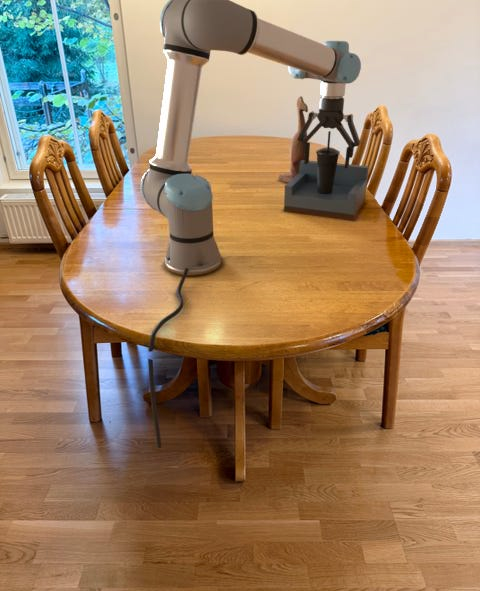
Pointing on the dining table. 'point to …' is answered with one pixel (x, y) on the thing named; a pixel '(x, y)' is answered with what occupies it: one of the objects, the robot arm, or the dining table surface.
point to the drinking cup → (326, 167)
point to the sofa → (334, 205)
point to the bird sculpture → (296, 144)
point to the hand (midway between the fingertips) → (326, 165)
